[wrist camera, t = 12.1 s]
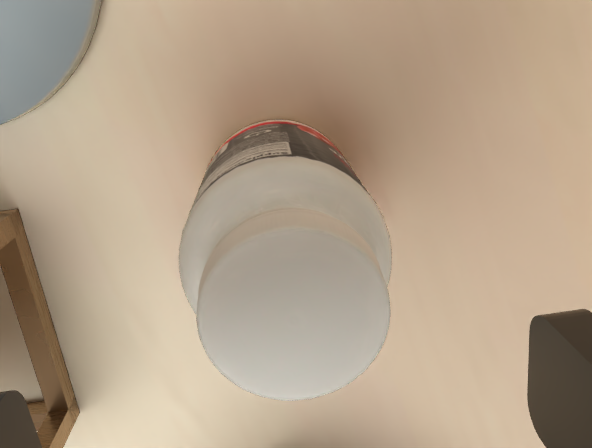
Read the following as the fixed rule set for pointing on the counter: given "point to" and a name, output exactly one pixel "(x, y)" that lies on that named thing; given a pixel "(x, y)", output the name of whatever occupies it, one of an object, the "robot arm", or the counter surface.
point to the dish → (40, 49)
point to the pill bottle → (286, 264)
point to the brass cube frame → (37, 335)
